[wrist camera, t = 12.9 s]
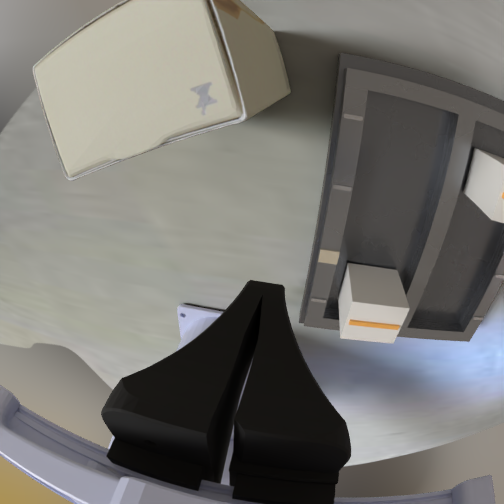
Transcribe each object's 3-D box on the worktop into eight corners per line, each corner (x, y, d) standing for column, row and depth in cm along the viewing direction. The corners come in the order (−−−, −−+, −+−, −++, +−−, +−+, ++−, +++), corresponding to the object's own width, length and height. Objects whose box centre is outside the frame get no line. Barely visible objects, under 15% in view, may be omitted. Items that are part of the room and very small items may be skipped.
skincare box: (274, 28, 15) (213, -44, 5) (293, 95, 17) (264, 120, 7) (174, 59, 17) (24, 65, 6) (193, 120, 19) (63, 187, 8)
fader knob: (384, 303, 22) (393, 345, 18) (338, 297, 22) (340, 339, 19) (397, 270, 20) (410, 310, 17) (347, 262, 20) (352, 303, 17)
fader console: (459, 329, 23) (467, 350, 21) (299, 312, 25) (297, 334, 23) (536, 119, 13) (557, 127, 11) (338, 54, 15) (343, 50, 13)
